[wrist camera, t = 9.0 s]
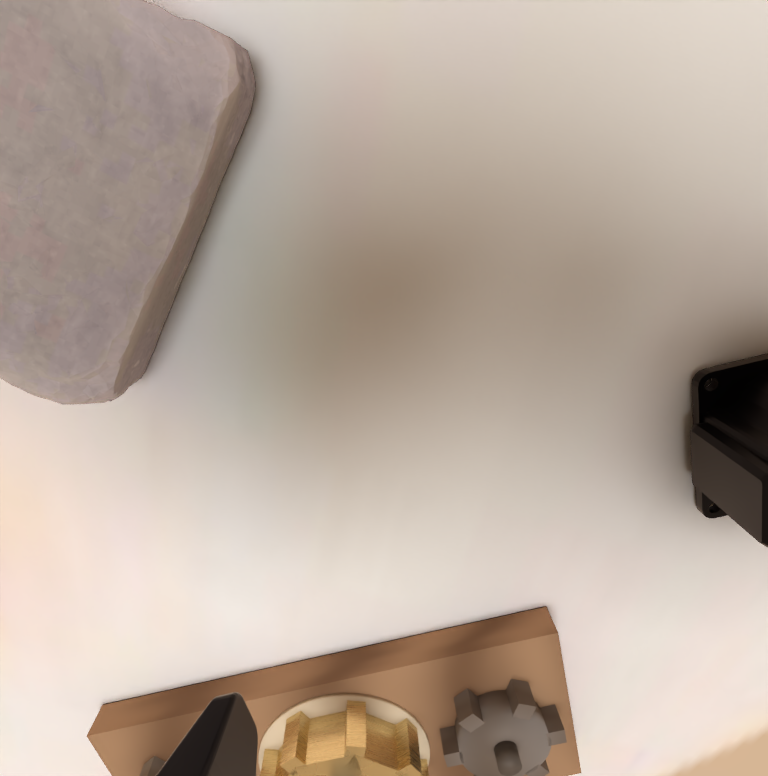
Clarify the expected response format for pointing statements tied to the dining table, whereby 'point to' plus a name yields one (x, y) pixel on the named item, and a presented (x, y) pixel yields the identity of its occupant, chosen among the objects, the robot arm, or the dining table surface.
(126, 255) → the stone block
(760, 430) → the robot arm
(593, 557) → the dining table surface
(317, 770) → the wooden gear
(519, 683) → the gear board
